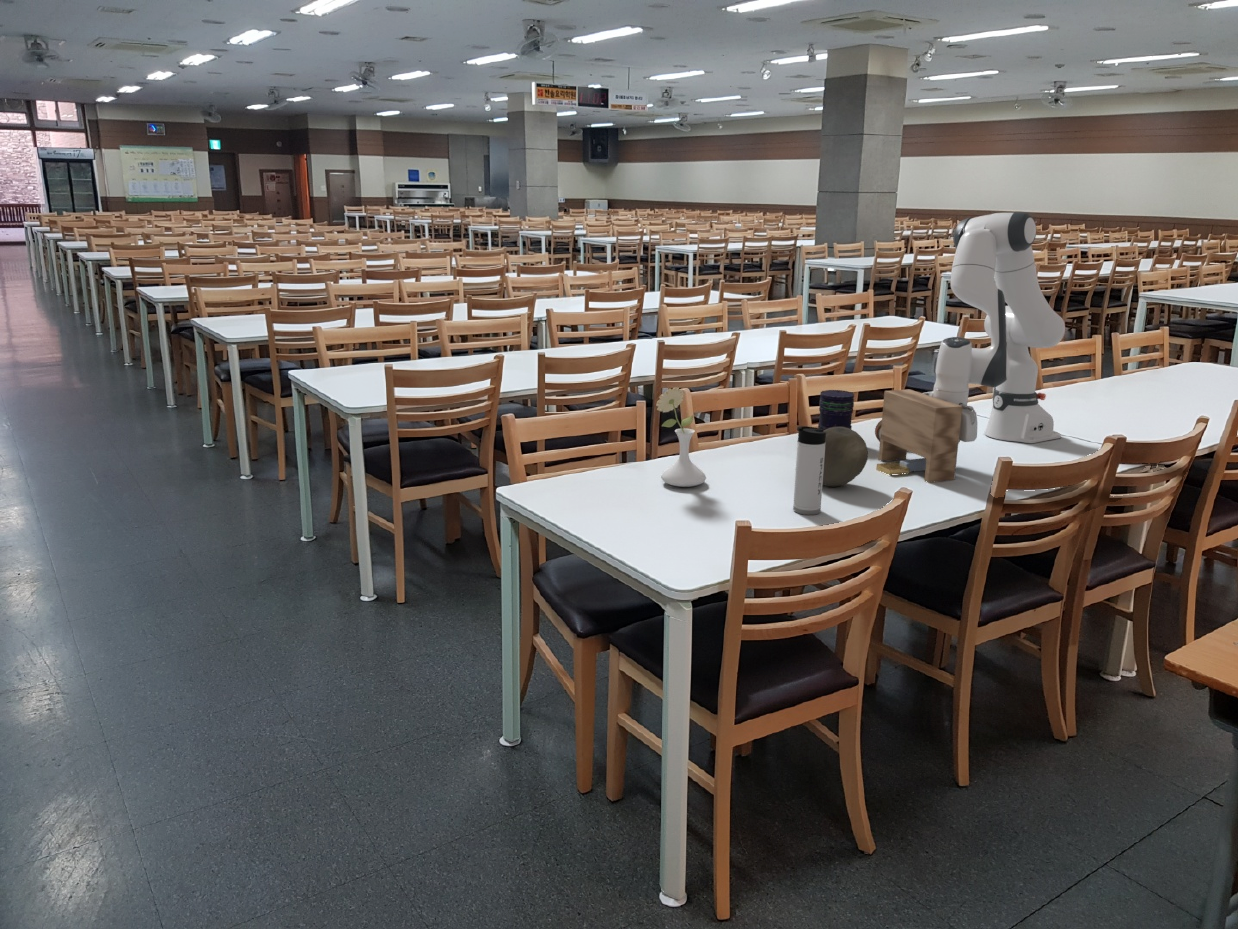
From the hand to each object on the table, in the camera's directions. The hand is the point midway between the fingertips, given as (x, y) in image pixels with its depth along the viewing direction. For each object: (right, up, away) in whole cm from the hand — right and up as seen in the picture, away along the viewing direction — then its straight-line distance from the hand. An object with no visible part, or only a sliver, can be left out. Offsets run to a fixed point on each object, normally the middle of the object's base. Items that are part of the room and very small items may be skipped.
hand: (944, 450), depth 249 cm
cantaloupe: (-33, -9, -15) cm, 38 cm away
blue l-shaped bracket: (-5, -5, 0) cm, 7 cm away
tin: (-5, +1, +22) cm, 23 cm away
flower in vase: (-72, -9, -15) cm, 74 cm away
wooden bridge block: (-8, -5, -1) cm, 10 cm away
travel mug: (-44, -15, -34) cm, 58 cm away
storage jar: (-24, +2, +25) cm, 35 cm away
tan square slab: (-15, -6, -3) cm, 17 cm away
